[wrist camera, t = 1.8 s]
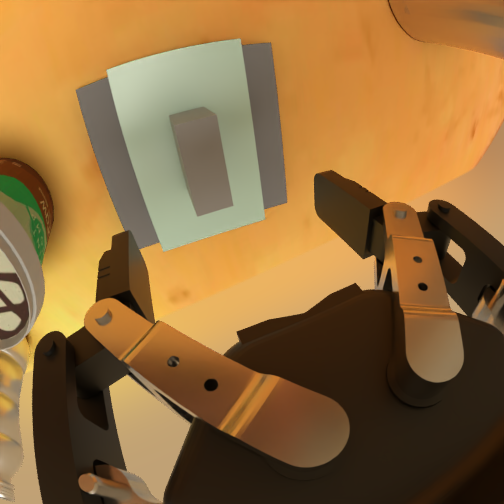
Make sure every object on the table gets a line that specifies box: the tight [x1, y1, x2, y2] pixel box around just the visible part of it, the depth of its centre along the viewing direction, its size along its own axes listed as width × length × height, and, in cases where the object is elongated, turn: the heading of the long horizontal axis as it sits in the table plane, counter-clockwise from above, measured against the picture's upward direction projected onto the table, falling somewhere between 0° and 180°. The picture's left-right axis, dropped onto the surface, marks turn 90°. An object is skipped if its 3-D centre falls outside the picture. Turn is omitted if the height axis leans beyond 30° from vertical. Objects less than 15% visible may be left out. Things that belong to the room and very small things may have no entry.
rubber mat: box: [76, 43, 287, 249], centre depth 20 cm, size 14×14×1 cm
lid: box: [106, 39, 265, 252], centre depth 18 cm, size 9×15×5 cm, turn 8°
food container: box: [0, 158, 54, 350], centre depth 14 cm, size 12×6×10 cm, turn 176°
